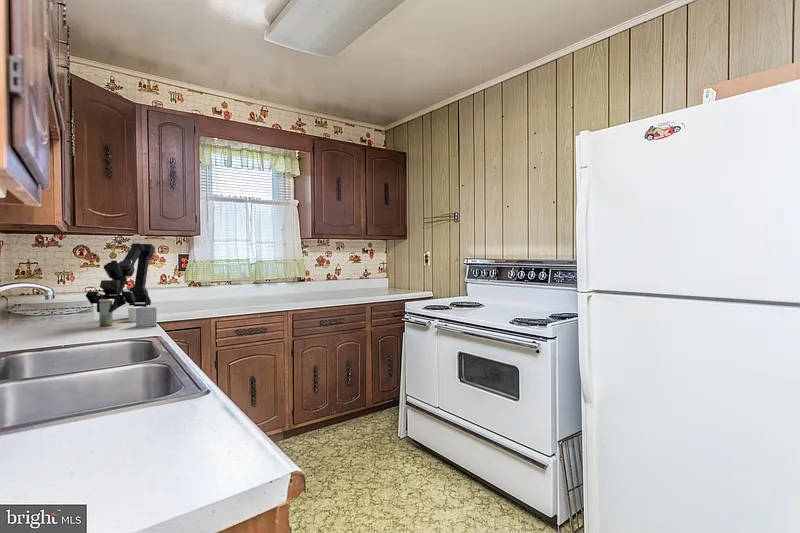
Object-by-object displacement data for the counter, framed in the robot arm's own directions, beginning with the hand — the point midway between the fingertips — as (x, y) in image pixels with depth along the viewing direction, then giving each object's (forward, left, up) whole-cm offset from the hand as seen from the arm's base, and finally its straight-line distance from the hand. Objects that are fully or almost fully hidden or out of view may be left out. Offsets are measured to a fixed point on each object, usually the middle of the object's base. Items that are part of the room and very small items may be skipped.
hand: (104, 311), depth 188 cm
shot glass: (-18, +5, -7) cm, 20 cm away
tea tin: (-1, 0, -7) cm, 7 cm away
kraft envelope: (-3, +2, -7) cm, 8 cm away
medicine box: (-1, +17, -7) cm, 19 cm away
